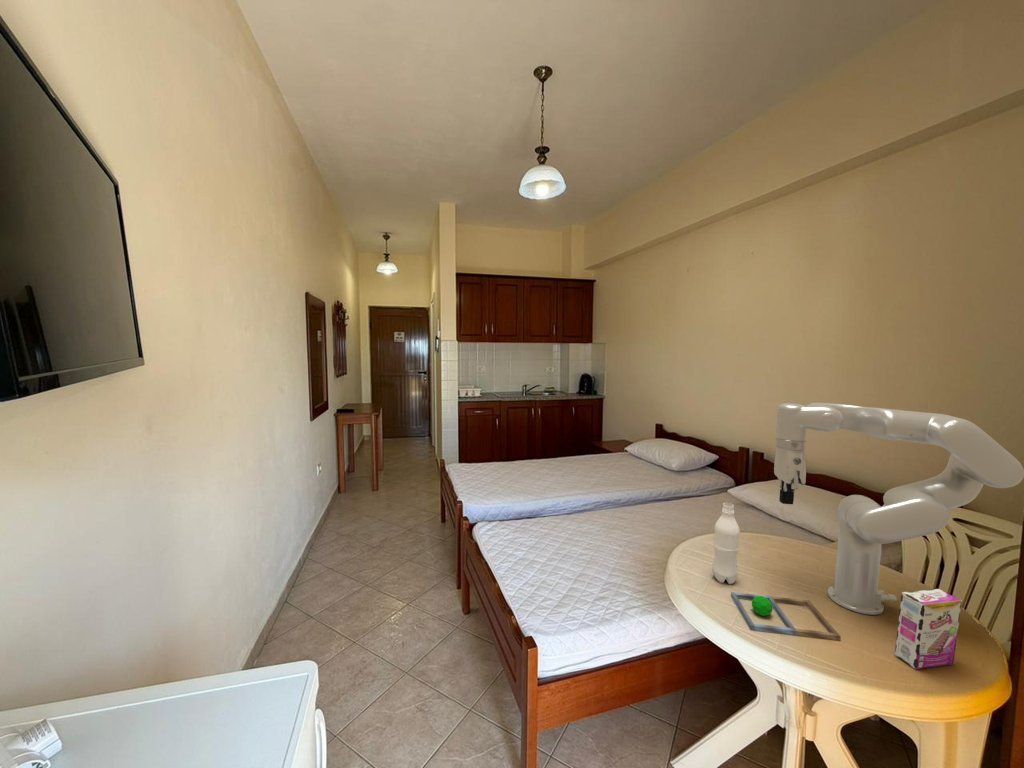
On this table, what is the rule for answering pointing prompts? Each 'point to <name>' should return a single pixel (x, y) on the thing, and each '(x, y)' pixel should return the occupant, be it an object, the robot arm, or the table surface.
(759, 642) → the table surface
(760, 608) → the polyhedron
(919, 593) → the candy bar box
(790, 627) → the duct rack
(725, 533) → the water bottle
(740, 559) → the table surface
